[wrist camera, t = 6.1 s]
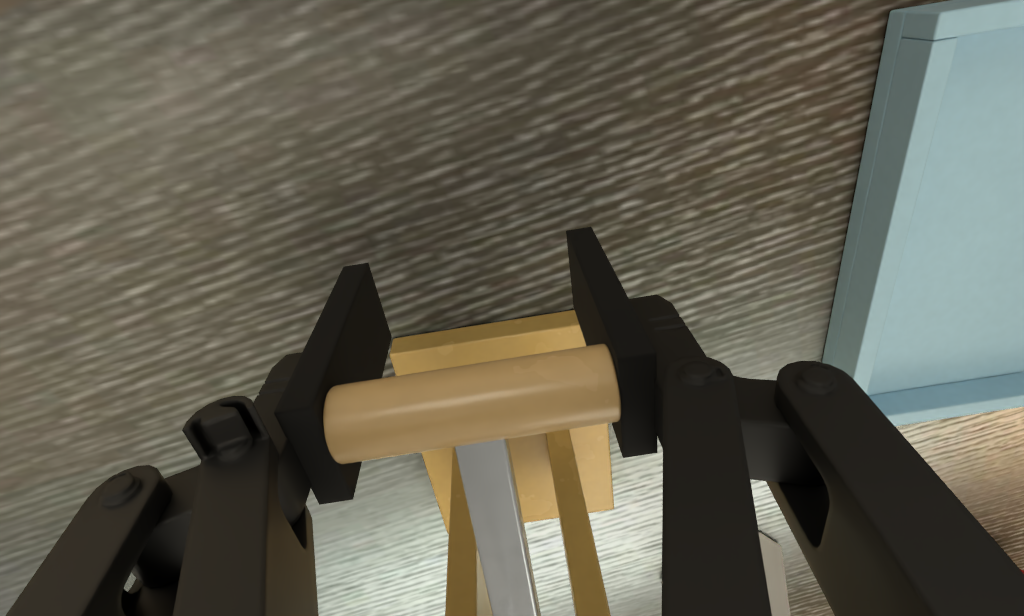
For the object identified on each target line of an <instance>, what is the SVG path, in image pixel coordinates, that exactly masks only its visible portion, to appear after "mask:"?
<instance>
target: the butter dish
mask: <svg viewBox="0 0 1024 616" xmlns="http://www.w3.org/2000/svg"><path fill="white" fill-rule="evenodd" d="M822 363H826V364H830V365H832V366H834V367H837V368H839V369H841V370H843V371H844V372H846V373H847V374H848V375H849V376H851V377H852V378H853V379H854V380H855V381H856V383H857V384H858V385H859V386H860V387H861V388H862V389H863V391H864V392H865V393H866V394H867V395H868V396H869V397H870V399H871V400H872V401H873V402H874V403H875V404H876V405H877V407H878V408H879V409H880V410H881V411H882V412H883V414H884V415H885V416H886V417H887V418H888V419H889V420H890V422H891V423H892V424H893V425H894V426H900V425H906V424H913V423H919V422H926V421H933V420H939V419H946V418H952V417H959V416H965V415H972V414H979V413H985V412H992V411H998V410H1005V409H1011V408H1018V407H1024V0H950V1H944V2H938V3H932V4H926V5H920V6H914V7H908V8H902V9H896V10H892V11H890V14H889V19H888V24H887V29H886V35H885V40H884V45H883V50H882V55H881V60H880V66H879V71H878V76H877V81H876V86H875V91H874V97H873V102H872V107H871V112H870V117H869V122H868V127H867V133H866V138H865V143H864V148H863V153H862V158H861V164H860V169H859V174H858V179H857V184H856V189H855V195H854V200H853V205H852V210H851V215H850V220H849V226H848V231H847V236H846V241H845V246H844V251H843V257H842V262H841V267H840V272H839V277H838V282H837V288H836V293H835V298H834V303H833V308H832V313H831V319H830V324H829V329H828V334H827V339H826V344H825V350H824V355H823V360H822Z"/></svg>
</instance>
